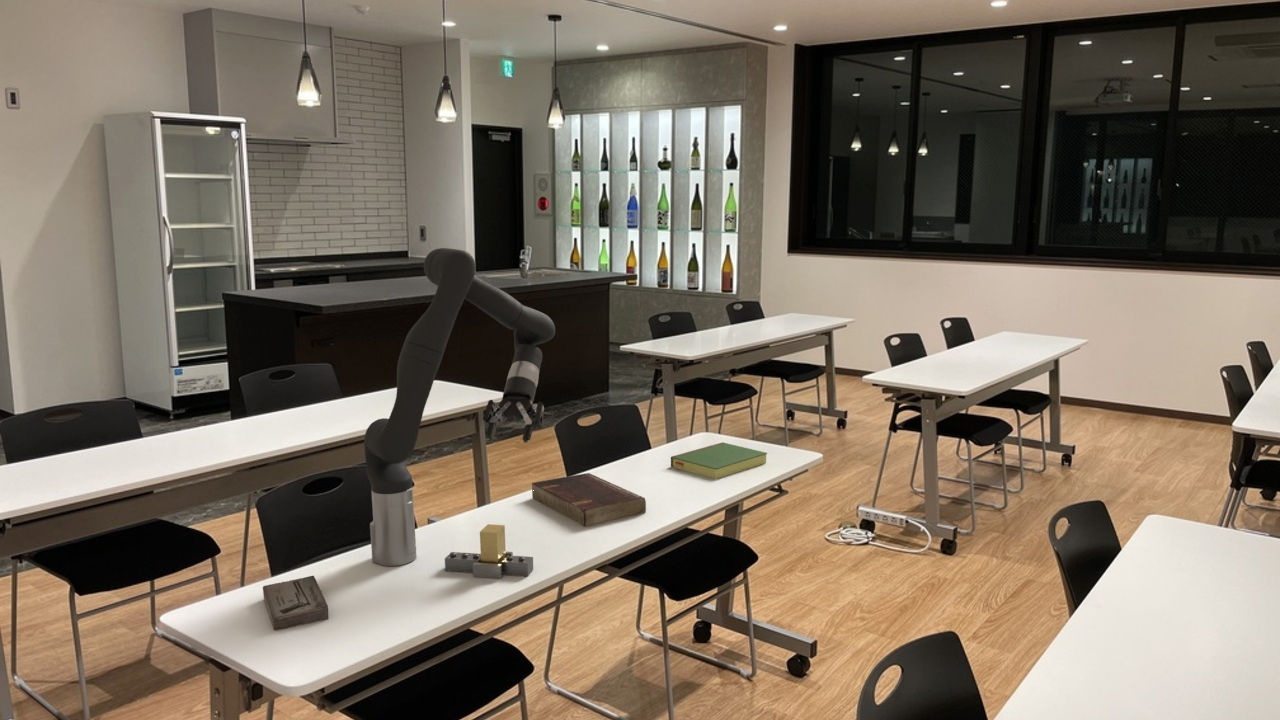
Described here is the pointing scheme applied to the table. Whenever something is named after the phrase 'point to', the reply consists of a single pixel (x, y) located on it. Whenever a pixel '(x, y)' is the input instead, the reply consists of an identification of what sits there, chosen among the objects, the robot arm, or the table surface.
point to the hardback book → (588, 499)
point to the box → (295, 603)
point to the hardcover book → (718, 460)
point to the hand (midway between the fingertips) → (507, 440)
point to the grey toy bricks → (489, 565)
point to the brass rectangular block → (492, 544)
